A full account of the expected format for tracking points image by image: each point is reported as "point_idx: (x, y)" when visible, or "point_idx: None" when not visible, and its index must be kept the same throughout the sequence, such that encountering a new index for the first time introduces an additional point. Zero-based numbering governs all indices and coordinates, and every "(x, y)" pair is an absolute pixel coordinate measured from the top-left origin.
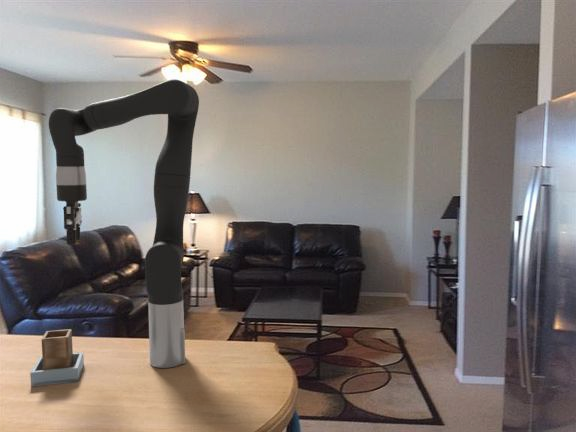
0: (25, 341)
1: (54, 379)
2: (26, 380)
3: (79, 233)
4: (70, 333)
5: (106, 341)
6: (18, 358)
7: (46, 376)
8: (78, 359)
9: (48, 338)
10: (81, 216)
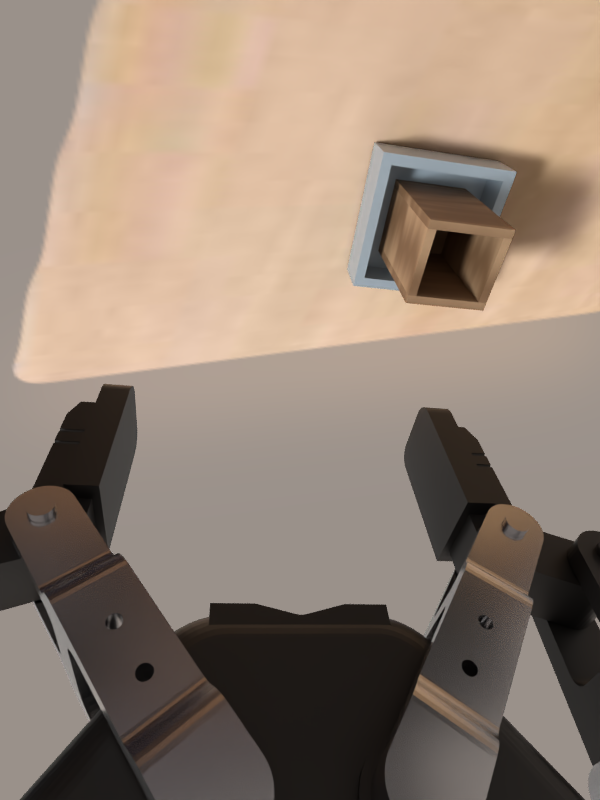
0: (81, 328)
1: None
2: None
3: (118, 428)
4: (457, 220)
5: (141, 35)
6: (231, 329)
7: None
8: (445, 169)
9: (489, 291)
10: (57, 610)
